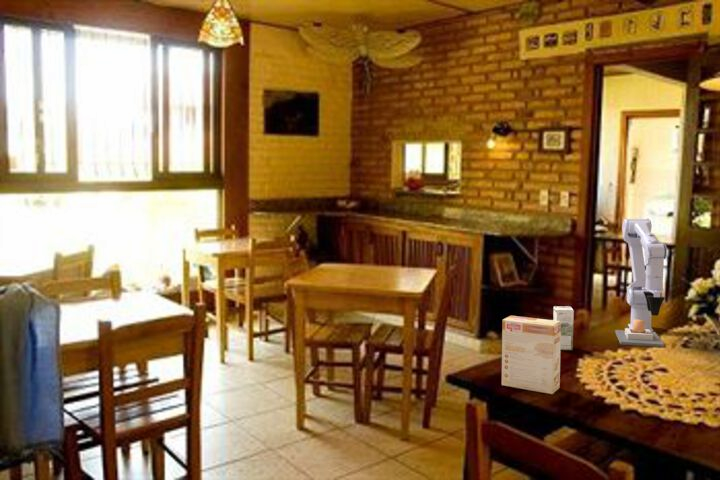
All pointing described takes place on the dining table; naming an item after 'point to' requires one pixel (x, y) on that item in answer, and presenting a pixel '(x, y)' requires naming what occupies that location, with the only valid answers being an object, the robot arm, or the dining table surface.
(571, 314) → the syrup box
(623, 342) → the dock board
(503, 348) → the coffeecake box
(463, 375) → the dining table surface
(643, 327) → the peach rounded egg part
